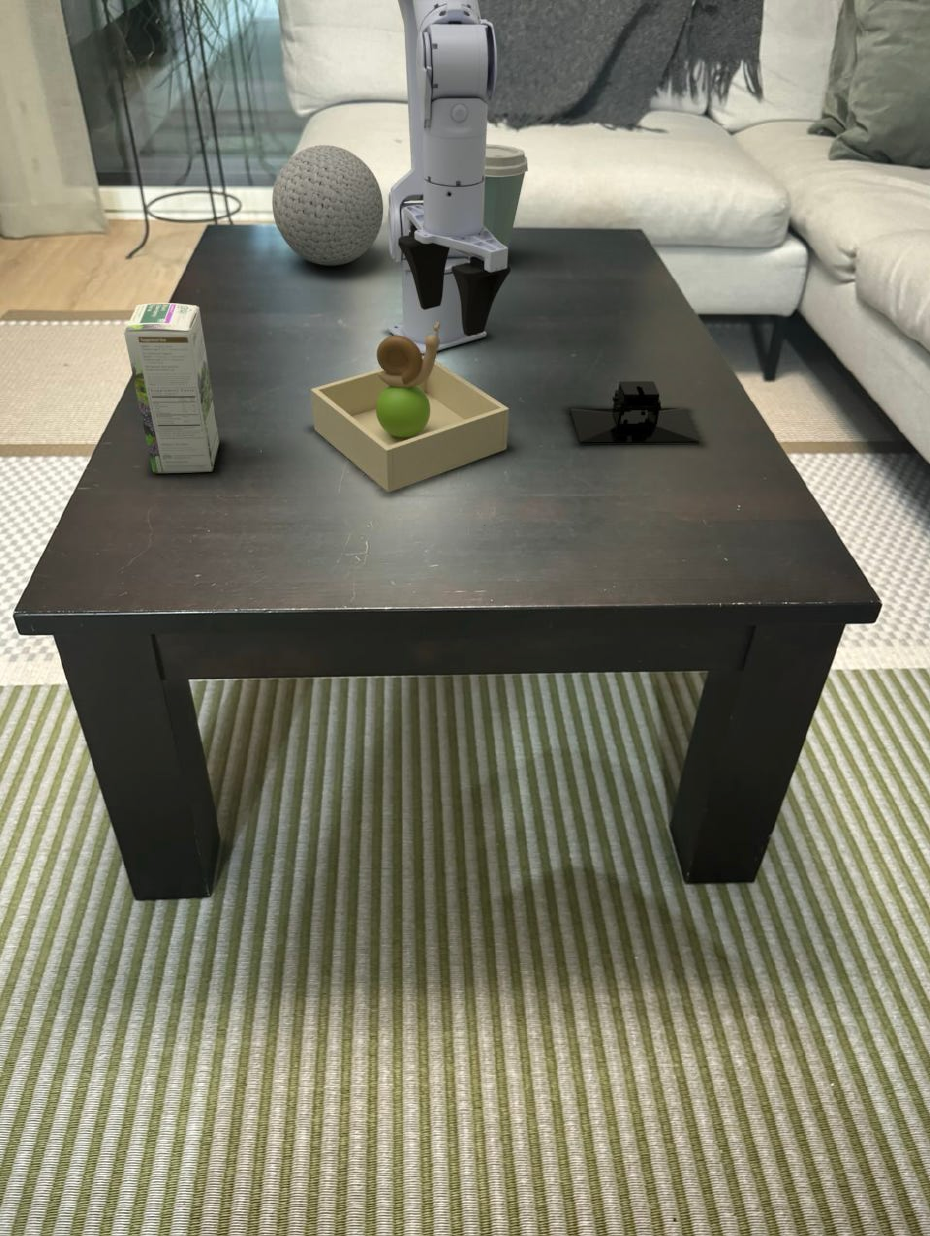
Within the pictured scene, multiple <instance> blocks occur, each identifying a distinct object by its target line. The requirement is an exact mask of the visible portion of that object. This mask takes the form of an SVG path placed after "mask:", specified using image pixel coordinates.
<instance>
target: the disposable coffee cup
mask: <svg viewBox="0 0 930 1236" xmlns="http://www.w3.org/2000/svg"><path fill="white" fill-rule="evenodd" d="M528 171H529V168H528V158H527V156H526V153H525V151H524V149H521V148H517V147H514V146H508V145H504V144H503V145H502V144H489V143H486V163H485V192H484V219H483V225H484V226H485V227H486V228H487V229H488V230H489V231H490V233H491V234H492V235H493V236H494V237H495V238H496V239H497V241H498V242H500V243H501V244H502V245H504V246H506V247H508V249H509V248H510V243H511V238H512V234H513V229H514V225H515V220H516V216H517V212H518V208H519V207H518V206H519V203H520V197H521V194H522V190H523V185H524V180H525V176H526V172H528Z"/></svg>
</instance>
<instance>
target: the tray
mask: <svg viewBox="0 0 930 1236" xmlns="http://www.w3.org/2000/svg"><path fill="white" fill-rule="evenodd" d="M423 358H424V355H422V359H423ZM378 372H384V373H386V372H385V371H384V370H383V369H382V368H381V367H380V368H378V369H375V370H371V371H367V372H364V373H361V374H357V375H354V376H350V377H348V378H344V379H340V380H337V381H334V382H331V383H326V384H323V385H320V386H317V387H313V388H310V396H311V397H310V398H311V408H312V418H313V428H314V431H315V432H317V433H318V434H319V435H320V436H321V437H322V438H323V439H324V440H326V441H327V442H328V443H330V444H331V445H332V446H333V447H334V448H335V449H336V450H337V451H339V452H340V453H341V454H342V455H343V456H345V457H346V459H348V460H349V461H350V462H352V464H354V465H355V466H356V467H358V469H360V470H361V472H363V473H364V474H366V475H367V476H368V477H369V478H370V479H371V480H373V481H374V482H375V483H376V484H377V485H378V486H379V487H380V488H382V489H383V490H384V491H385V492H387V493H392V492H394V491H397V490H400V489H402V488H405V487H408V486H411V485H413V484H415V483H416V484H417V483H419V482H421V481H424V480H427V479H429V478H432V477H435V476H439V475H440V474H443V473H446V472H449V471H451V470H454V469H456V468H460V467H462V466H465V465H468V464H470V463H473V462H475V461H478V460H482V459H485V458H486V457H489V456H492V455H494V454H498V453H500V452H503V451H505V450H507V447H508V445H507V444H508V431H509V414H510V407H507V406H506V405H504V404H502V403H501V402H500V401H499V400H497V399H495V398H493V397H492V396H491V395H489V394H488V393H486V392H485V391H483V390H482V389H480V388H479V387H477V386H475V385H474V384H472V383H471V382H469V381H468V380H467V379H465V378H463V377H461V375H459V374H458V373H455V371H453V370H451V368H448V367H447V366H445V365H443V364H442V363H441V362H439V361H437V360H436V359H435V363H434V366H433V369H432V372H431V374H430V376H429V377H428V379H427V380H426V381H425V382H424V383H422V384H420V385H417V386H418V387H419V388H420V389H421V390H422V391H423V392H424V393H425V394H426V396H427V398H428V400H429V403H430V417H429V420H428V423H427V424H426V426H425V427H424V429H423V430H422V431H420V432H419V433H418V434H416V435H414V436H411V437H406V438H401V437H396V436H393V435H391V434H389V433H388V432H386V431H385V430H384V429H383V428H382V426H381V425H380V423H379V421H378V419H377V415H376V404H377V400H378V398H379V396H380V394H381V393H382V391H383V390H384V389H385V388H387V387H388V386H390V385H388V384H386V383H385V382H383V381H382V380H381V379H380V377H379V376H378V374H377V373H378Z"/></svg>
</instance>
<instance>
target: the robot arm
mask: <svg viewBox="0 0 930 1236" xmlns="http://www.w3.org/2000/svg"><path fill="white" fill-rule="evenodd" d="M397 2H398V6H399V10H400V14H401V18H402V23H403V29H404V30H403V31H404V49H405V50H404V51H405V71H406V89H407V90H406V92H407V93H406V94H407V113H408V114H407V115H408V132H409V149H410V150H409V151H410V152H409V153H410V155H409V156H410V169H409V171H407V172H406V173H405V175H403V176H402V177H401V178H400V179H399V180H397V181H396V182H395V183H394V184H393V185H392V186H391V187H390V192H389V194H388V213H387V223H388V224H387V226H388V228H387V229H388V243H389V254H390V257H391V258H392V259H393V260H394V262H395V263H400V264H401V292H402V293H401V295H402V296H401V298H402V300H401V301H402V302H401V303H402V304H401V305H402V323H400V324H396V325H393V326H389V328H388V332H389V333H390V334H391V335H393V336H394V335H399V336H404V337H406V338H408V339H410V340H412V341H413V342H414V343H415V344H416V345H417V346H418V348H419V350H420V352H421V354H422V355H425V351H426V345H425V339H426V337H427V336H429V335H432V334H433V335H436V331H434V329H433V327H434V326H435V323H437V322H439V323H440V328H439V330H438V331H437V334H438V338H439V339H440V342H439V347H438V349H437V352H438V351H442V350H445V349H448V348H451V347H455V346H458V345H462V344H466V343H468V342H472V341H475V340H478V339H482V338H485V337H487V332H486V331H485V329H486V326H487V322H488V318H489V316H490V314H491V313H490V312H491V309H492V307H493V304H494V301H495V298H496V296H497V294H498V292H499V290H500V288H501V287H502V285H503V284H504V282H505V281H506V279H507V278H508V276H509V274H510V273H511V264H510V263H509V261H508V258H509V257H508V256H509V248H508V247H506V246H504V245H502V244H501V243H500V242H498V241H497V239H496V238H495V237H494V236H493V235H492V234H491V233H490V231H489V230H488V229H487V228H486V227H485V226H484V225H483V219H484V192H485V163H486V144H487V135H488V133H487V131H488V112H489V111H488V109H489V105H488V103H487V101H486V99H485V98H486V97H487V100H488V101H489V102H491V101H493V98H494V94H495V91H496V85H497V84H496V83H497V77H498V75H497V74H498V50H497V49H498V48H497V41H496V33H495V28H494V25H493V22H491V21H488V19H486V18H485V19H483V18H482V16H481V12H480V6H479V1H478V0H397Z"/></svg>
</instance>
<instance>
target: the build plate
mask: <svg viewBox="0 0 930 1236" xmlns="http://www.w3.org/2000/svg"><path fill="white" fill-rule="evenodd" d="M660 395H661V394H660V392H659V390H658V387H657V386H656V383H655V382H654V381H651V380H650V381H649V380H648V381H647V380H646V381H644V380H642V381H641V380H640V381H639V380H638V381H636V380H635V381H629V380H627V381H619V382H618V389H615V392H614V396H613V397H612V401H613V404H612V405H613V407H612V408H570V412H569V413H570V416H571V420H572V422H573V423H572V424H573V425H574V426H573V427H574V430H575V433H576V437H577V440H578V443H579V445H581V446H587V445H588V446H594V445H595V446H596V445H597V446H599V445H601V446H603V445H604V446H606V445H607V446H608V445H609V446H610V445H611V446H612V445H614V446H615V445H616V446H617V445H620V446H621V445H698V444H699V443H700V439H699V437H698V436H697V434H696V431H695V429H694V427H693V425H692V423H691V421H690V419H689V417H688V415H687V414H686V413H687V412H686V411H685V409H684V408H682V407H662V402H661V400H660Z"/></svg>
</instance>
